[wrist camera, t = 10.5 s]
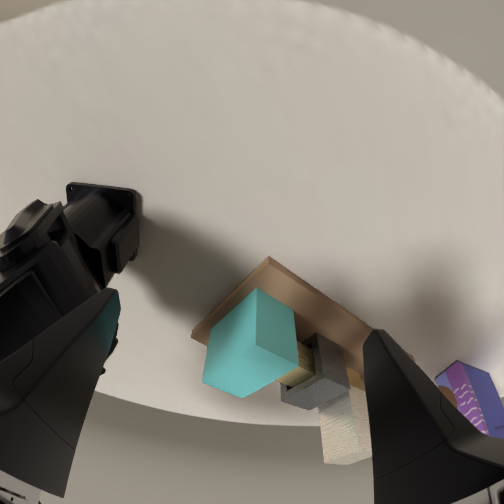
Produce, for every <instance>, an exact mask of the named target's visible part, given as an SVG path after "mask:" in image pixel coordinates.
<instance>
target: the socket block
mask: <svg viewBox="0 0 504 504" xmlns="http://www.w3.org/2000/svg"><path fill="white" fill-rule="evenodd" d="M298 366H299V359H298V349H297V340H296V331H295V322H294V313H293V310H292V309H291V308H289V307H288V306H286V305H284V304H283V303H281V302H279V301H278V300H276V299H275V298H273V297H271V296H270V295H268V294H267V293H265V292H263V291H262V290H260V289H259V288H257V287H256V288H255V289H254V290H253V291H252V292H251V293H250V294H249V295H248V296H247V297H246V298H245V299H243V300H242V301H241V302H240V303H239V304H238V305H237V306H236V307H235V308H234V309H233V310H231V311H230V312H229V313H228V314H227V315H226V316H225V317H224V318H223V319H222V320H220V321H219V322H218V323H217V324H216V325H215V326H214V327H213V328H212V329H211V330H210V336H209V342H208V348H207V355H206V361H205V367H204V374H203V380H202V382H203V383H205V384H207V385H210V386H212V387H215V388H217V389H219V390H222V391H224V392H227V393H230V394H232V395H235V396H237V397H240V398H244V397H246V396H248V395H250V394H252V393H254V392H255V391H257V390H259V389H261V388H263V387H264V386H266V385H268V384H270V383H271V382H273V381H275V380H276V379H278V378H280V377H282V376H283V375H285V374H287V373H288V372H290V371H291V370H293V369H295V368H296V367H298Z"/></svg>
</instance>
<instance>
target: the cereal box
mask: <svg viewBox="0 0 504 504" xmlns="http://www.w3.org/2000/svg"><path fill="white" fill-rule="evenodd" d="M435 380H436V383H437V386H438V388H439V390H440V392H442V393H443V394H444V395H445V396H446V397H447V398H448V400H449V401H450V402H451V403H452V404H453V405H454V406H455V407H456V408H457V409H458V410H459V411H460V412H461V413H462V414H463V415H464V416H465V417H466V418H467V419H468V420H469V421H470V422H471V423H472V424H473V425H474V426H475V427H476V428H477V429H478V430H479V431H481V432H482V433H484V434H486V435H488V436H492V437H498V438H504V407H503V405H502V402H501V400H500V397H499V395H498V393H497V390H496V388H495V386H494V383H493V381H492V379H491V377H490V375H489V373H488V372H485V371H483V370H480V369H478V368H475V367H472V366H470V365H467V364H465V363H462V362H460V361H457V360H456V361H455V362H454V363H453V364H451V365H450V366H449V367H448V368H447V369H445V370H444V371H443V372H441V373H440V374H439V375H438V376H436V377H435Z"/></svg>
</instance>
